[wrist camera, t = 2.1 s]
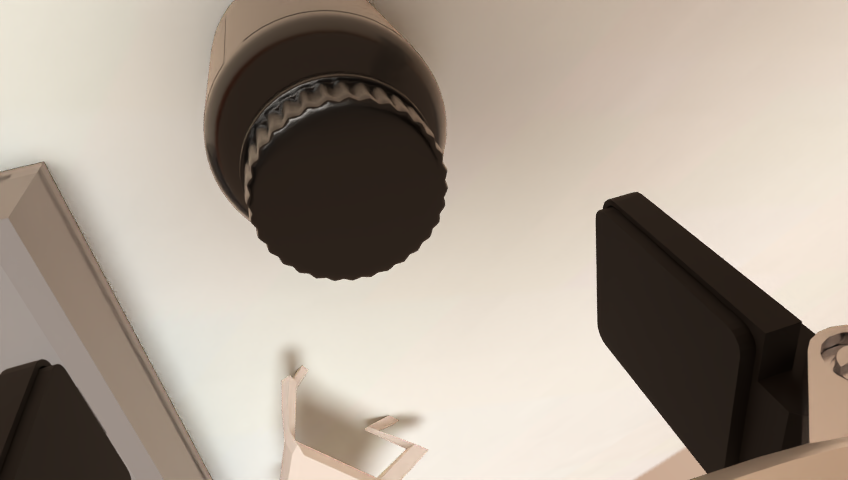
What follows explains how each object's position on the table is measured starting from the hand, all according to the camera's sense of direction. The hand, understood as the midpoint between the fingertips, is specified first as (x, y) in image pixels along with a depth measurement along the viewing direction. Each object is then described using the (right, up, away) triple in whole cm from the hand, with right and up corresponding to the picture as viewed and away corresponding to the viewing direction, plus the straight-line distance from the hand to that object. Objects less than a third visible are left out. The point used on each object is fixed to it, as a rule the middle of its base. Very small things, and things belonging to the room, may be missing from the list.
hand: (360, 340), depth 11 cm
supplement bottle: (-4, +9, +14) cm, 17 cm away
